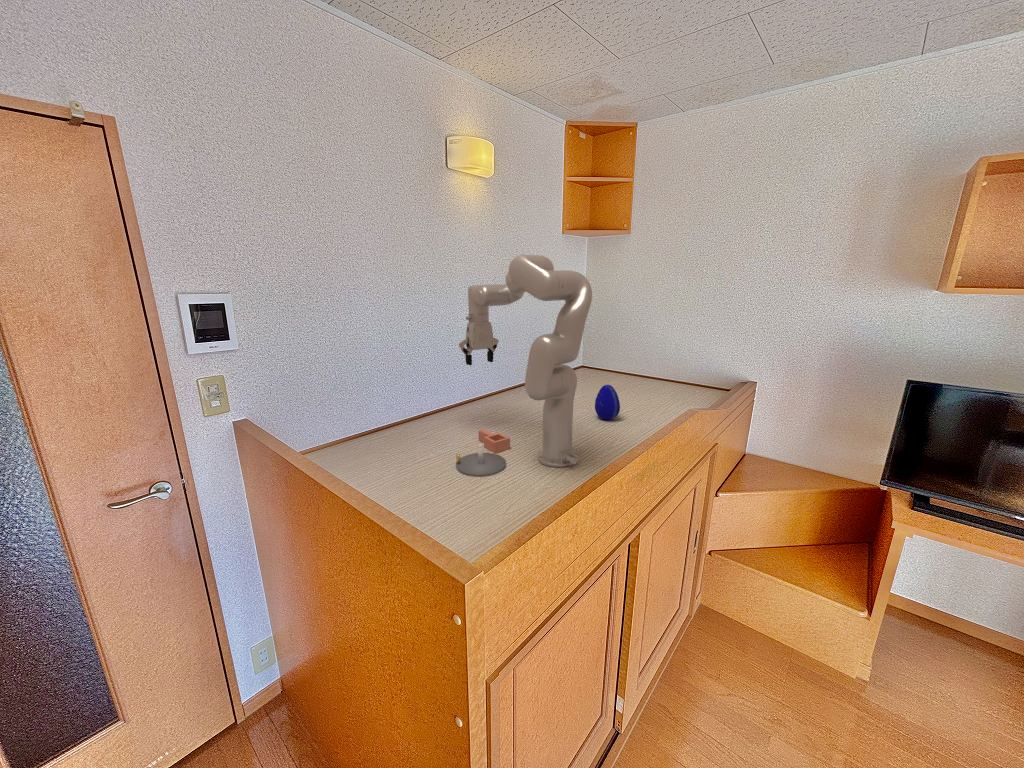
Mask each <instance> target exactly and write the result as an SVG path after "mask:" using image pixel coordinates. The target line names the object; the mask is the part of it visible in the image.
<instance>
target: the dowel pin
mask: <svg viewBox="0 0 1024 768" xmlns="http://www.w3.org/2000/svg"><path fill="white" fill-rule="evenodd" d="M455 456H456V457H455V458H456V459H455V460H456V462H457V464H460V458H461V454H460V453H457V454H455Z"/></svg>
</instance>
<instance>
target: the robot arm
mask: <svg viewBox="0 0 1024 768" xmlns="http://www.w3.org/2000/svg"><path fill="white" fill-rule="evenodd" d="M592 289H593V288H592V286H591V283H590V281H589V280H588V278H587V277H586V276H585V275H583V274H582V273H580V272H578V271H573V270H565V269H564V270H555V267H554V264H553V262H552V260H551V259H550V258H548V257H546V256H544V255H538V254H537V255H535V254H519V255H517V256H515V257H514V258H513V259H512V260H511V261H510V263H509V266H508V272H507V273H506V275H505V284H504V283H503V284H480V285H479V284H475V285H473V284H472V285H469V286H468V288H467V301H468V304H467V306H468V316H466V317H465V320H466V321H468V322H467V325H466V331H465V339H463V341H461V342H459V343H458V346H459V349H460V350H461V352H462V353H464V355H465V356H464V357H465V364H466V365H468V366H473V358H472V357H473V356H472V352H473V351H475V350H476V351H477V350H487V353H486V357H487V358H486V359H487V362H490V363H494V353H495V352H496V351H495V350H496V349H497V348H498V344H499V341H500V340H499V339H497V338H495V337H494V332H493V331H494V330H493V326H492V322H490V320H489V319H490V318H489V313H490V310H489V308H490V307H495V306H496V307H498V306H499V307H500V306H507V305H511V304H513V303H515V302H517V301H519V300H521V299H522V298H523V297H524V294H525V293H528V294H530V295H531V296H532V297H533V298H535V299H537V300H539V301H542V302H551V301H552V302H554V301H555V302H556V301H557V302H558V301H565V303H564V304H563V305H562V307H561V308H560V310H559V312H558V314H557V317H556V321H555V325H554V330H553V332H551V333H545V334H542V335H539V336H538V337H536V338H535V339H534V341H532V343H531V345H530V349H529V354H528V360H527V365H526V373H525V376H524V387H525V392H526V394H527V396H528V397H529V398H530V399H532V400H534V401H544V403H543V406H542V407H543V409H542V451H540V452H539V453H538V454H537V460H538V461H539V463H541V464H543V465H545V466H548V467H552V468H563V467H564V468H565V467H569V466H572V465H576V464H577V463H578V461H579V459H580V456H579V455H577V454H576V453H575V448H573V423H574V422H573V418H574V416H573V415H574V402H575V401H574V400H575V395H576V390H577V385H578V377H577V373H576V372H575V370H574V369H573V368H572V367H571V366H569V365H568V364H569V363H572V362H574V361H575V360H576V359H577V358H578V357H579V353H580V348H581V345H582V340H583V335H584V331H585V325H586V321H587V318H588V315H589V311H590V309H591V305H592V301H593V290H592ZM465 346H466V347H465Z"/></svg>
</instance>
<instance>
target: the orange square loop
mask: <svg viewBox="0 0 1024 768" xmlns="http://www.w3.org/2000/svg"><path fill="white" fill-rule="evenodd" d="M477 433H478V441H479V442H481V443H483V449H485V450H487V451H489V452H490V453H492V454H498V453H502V452H504V451H507V450H511V437H508V436H506V435H504V434H503V433H500V432H497V433H492V432H490V431H488V430H485V429H483V428H482V429H478V432H477Z"/></svg>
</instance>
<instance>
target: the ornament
mask: <svg viewBox="0 0 1024 768" xmlns="http://www.w3.org/2000/svg"><path fill="white" fill-rule="evenodd" d="M594 410H595V412H596V415H597V416H598V417H599V418H600V419H602V420H613V419H614V418H617V417H618V415H619V414H620V411H621V403H620V400H619V395H618V393H617V391H616V389H615V388H614V387H613V386H612V385H610V384H604V385H603V386H602V387H601V388H600V389H599V391H598V393H597V395H596V397H595V401H594Z"/></svg>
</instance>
